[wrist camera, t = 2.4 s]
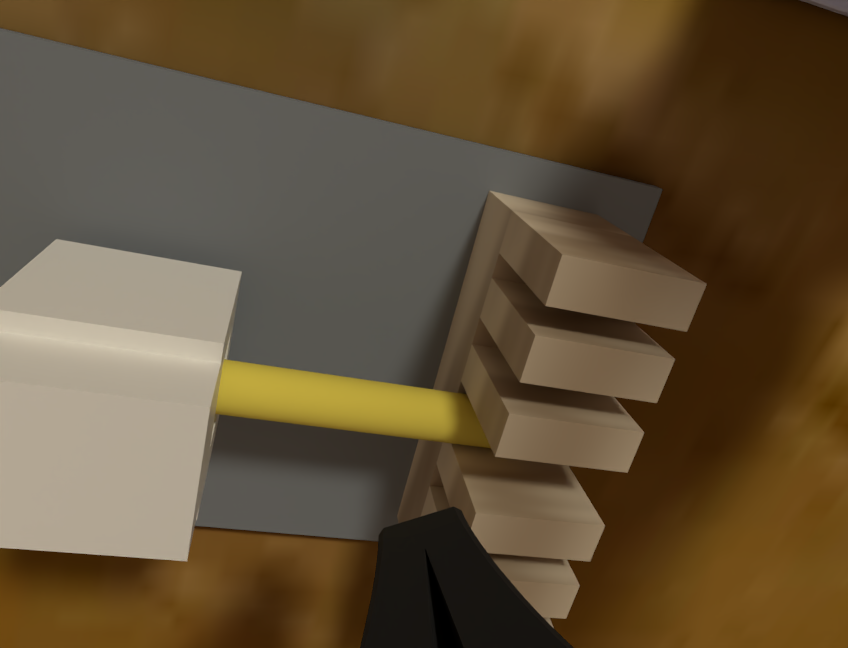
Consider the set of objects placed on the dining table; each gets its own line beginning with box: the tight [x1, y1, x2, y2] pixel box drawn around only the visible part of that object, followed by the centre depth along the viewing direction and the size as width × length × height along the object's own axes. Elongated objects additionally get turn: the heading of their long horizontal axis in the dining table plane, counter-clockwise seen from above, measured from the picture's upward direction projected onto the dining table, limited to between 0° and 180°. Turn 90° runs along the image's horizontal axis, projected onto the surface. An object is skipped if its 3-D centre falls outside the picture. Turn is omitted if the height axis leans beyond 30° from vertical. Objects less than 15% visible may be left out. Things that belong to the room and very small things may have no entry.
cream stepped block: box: [0, 239, 242, 561], centre depth 14 cm, size 4×4×6 cm
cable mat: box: [0, 28, 663, 541], centre depth 16 cm, size 27×12×1 cm, turn 76°
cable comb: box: [397, 191, 707, 628], centre depth 16 cm, size 3×10×5 cm, turn 166°
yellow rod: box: [215, 359, 491, 448], centre depth 14 cm, size 22×1×1 cm, turn 76°
